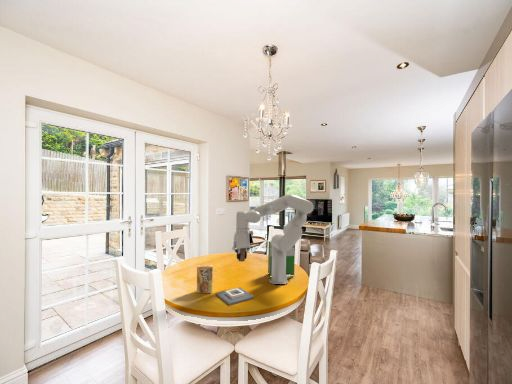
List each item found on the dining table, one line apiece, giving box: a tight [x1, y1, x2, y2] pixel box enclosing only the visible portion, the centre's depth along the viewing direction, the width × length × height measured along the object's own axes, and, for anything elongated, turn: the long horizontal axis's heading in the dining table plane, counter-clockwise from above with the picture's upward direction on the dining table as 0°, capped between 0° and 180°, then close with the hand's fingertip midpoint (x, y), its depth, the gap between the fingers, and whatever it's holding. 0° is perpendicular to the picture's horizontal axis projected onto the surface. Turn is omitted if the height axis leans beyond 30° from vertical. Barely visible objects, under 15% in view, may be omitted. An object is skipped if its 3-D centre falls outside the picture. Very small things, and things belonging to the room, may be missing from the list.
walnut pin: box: [238, 248, 246, 262], centre depth 154 cm, size 4×4×8 cm
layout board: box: [215, 286, 255, 306], centre depth 136 cm, size 16×16×2 cm
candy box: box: [196, 264, 214, 294], centre depth 142 cm, size 9×4×15 cm, turn 93°
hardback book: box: [267, 241, 296, 277], centre depth 173 cm, size 18×7×24 cm, turn 98°
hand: (241, 258), depth 154 cm, fingers closed on walnut pin, 4 cm apart
